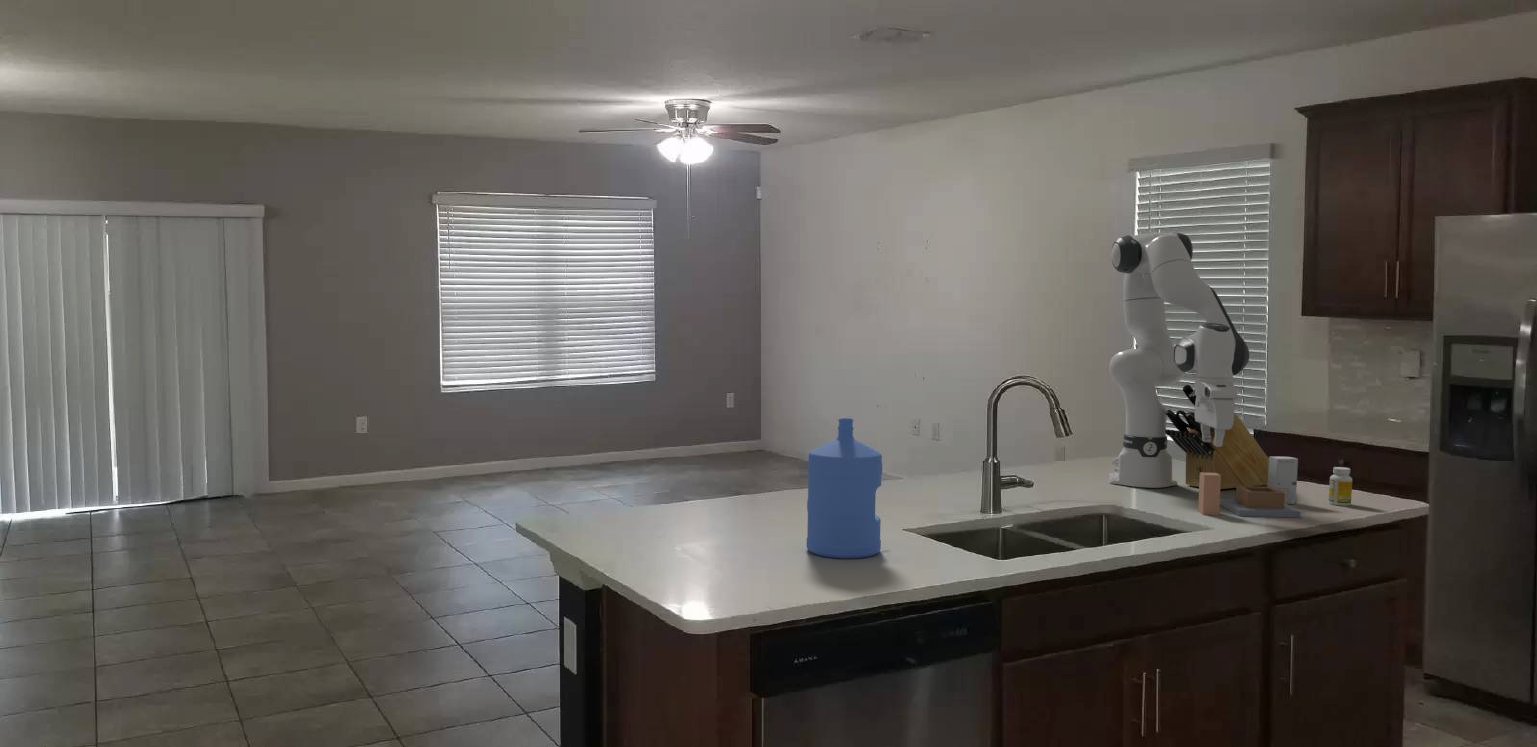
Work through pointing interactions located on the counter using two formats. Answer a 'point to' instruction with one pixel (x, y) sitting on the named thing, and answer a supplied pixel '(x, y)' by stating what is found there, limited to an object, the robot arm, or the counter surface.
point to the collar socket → (1259, 503)
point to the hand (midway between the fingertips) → (1212, 444)
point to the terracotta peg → (1209, 493)
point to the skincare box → (1283, 476)
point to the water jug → (843, 497)
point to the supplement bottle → (1340, 487)
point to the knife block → (1219, 451)
